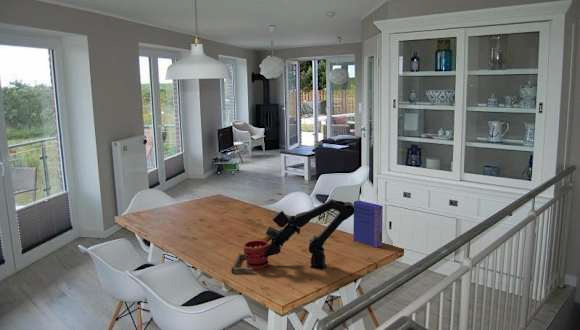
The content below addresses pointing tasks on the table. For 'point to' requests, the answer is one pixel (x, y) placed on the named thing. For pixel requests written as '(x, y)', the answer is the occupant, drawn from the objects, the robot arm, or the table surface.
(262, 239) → the primitive tool
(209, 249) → the table surface
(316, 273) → the table surface
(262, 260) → the plant pot
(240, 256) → the walnut corral
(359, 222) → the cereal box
